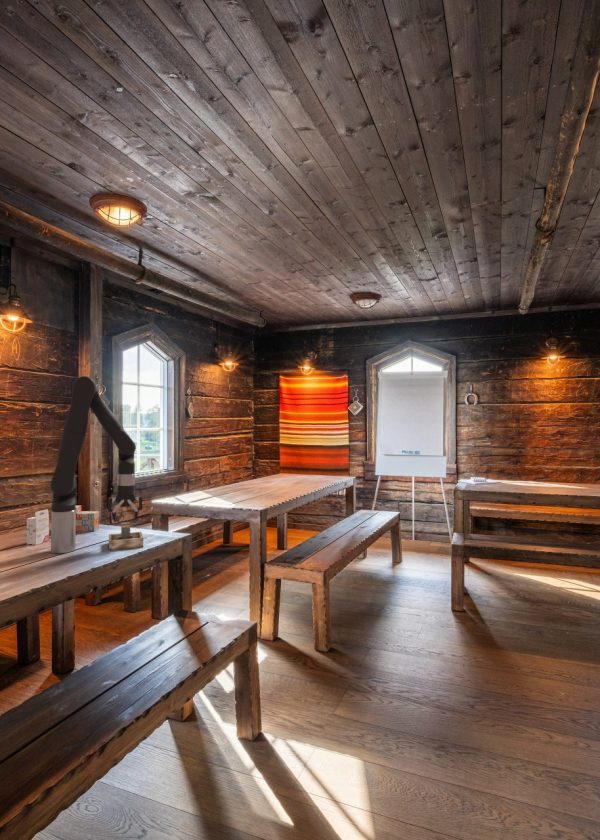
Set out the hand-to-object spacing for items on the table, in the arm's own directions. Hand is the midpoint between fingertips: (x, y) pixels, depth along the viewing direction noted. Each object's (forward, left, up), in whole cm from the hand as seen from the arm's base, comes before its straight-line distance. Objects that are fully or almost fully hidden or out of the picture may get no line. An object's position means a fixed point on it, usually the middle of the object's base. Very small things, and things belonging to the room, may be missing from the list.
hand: (124, 520), depth 217 cm
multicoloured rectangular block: (-22, +40, -12) cm, 48 cm away
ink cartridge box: (-37, +20, -11) cm, 43 cm away
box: (0, 0, -11) cm, 11 cm away
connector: (0, 0, -10) cm, 10 cm away
